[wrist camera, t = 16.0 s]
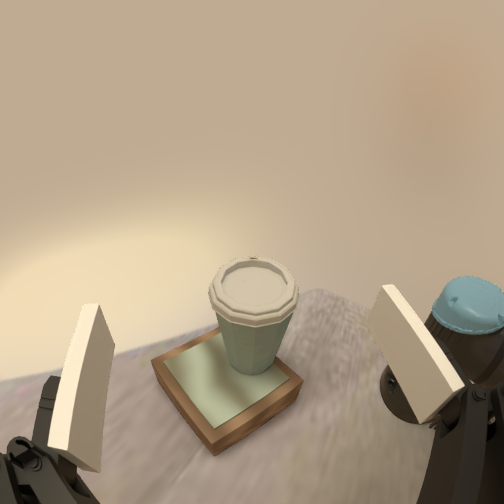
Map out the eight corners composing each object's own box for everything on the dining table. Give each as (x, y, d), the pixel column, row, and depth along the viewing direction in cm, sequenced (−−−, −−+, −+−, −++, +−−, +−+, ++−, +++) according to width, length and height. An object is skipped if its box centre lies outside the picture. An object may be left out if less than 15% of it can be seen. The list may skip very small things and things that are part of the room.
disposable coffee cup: (288, 387, 36) (310, 312, 28) (209, 387, 36) (202, 310, 28) (280, 332, 45) (295, 254, 37) (213, 330, 44) (211, 251, 36)
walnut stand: (234, 340, 51) (235, 316, 48) (296, 399, 41) (304, 378, 38) (157, 380, 42) (150, 358, 38) (214, 456, 32) (211, 443, 28)
